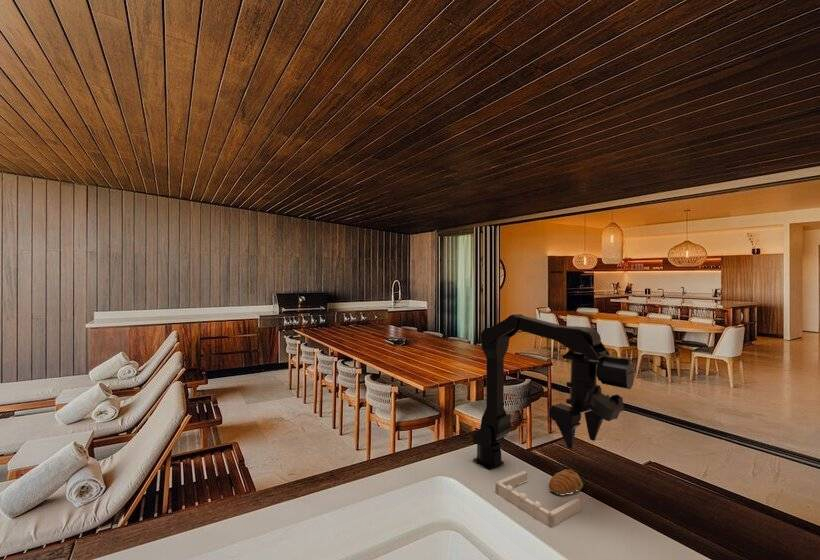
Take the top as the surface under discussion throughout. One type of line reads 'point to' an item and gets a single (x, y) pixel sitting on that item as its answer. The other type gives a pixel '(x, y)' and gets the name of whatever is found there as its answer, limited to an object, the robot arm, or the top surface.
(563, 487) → the pastry
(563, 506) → the frame
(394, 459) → the top surface
